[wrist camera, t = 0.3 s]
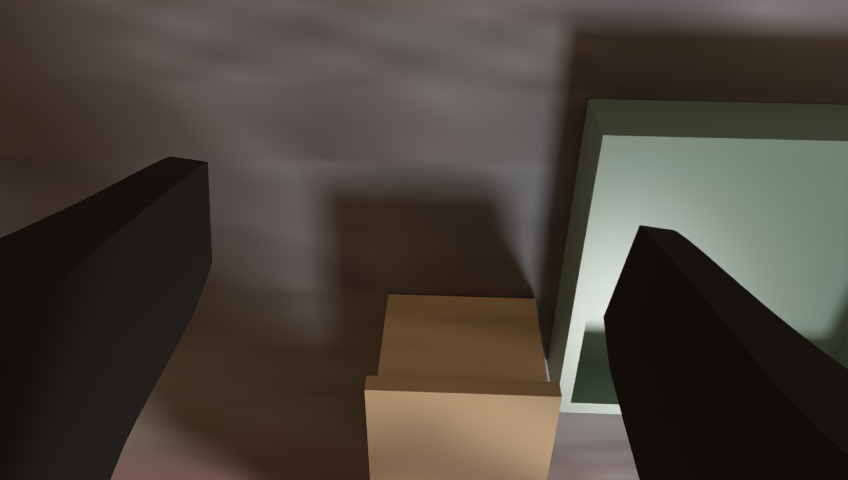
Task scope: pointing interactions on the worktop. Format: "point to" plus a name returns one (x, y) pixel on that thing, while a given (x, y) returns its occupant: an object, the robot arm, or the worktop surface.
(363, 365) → the worktop surface
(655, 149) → the tray
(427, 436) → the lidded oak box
